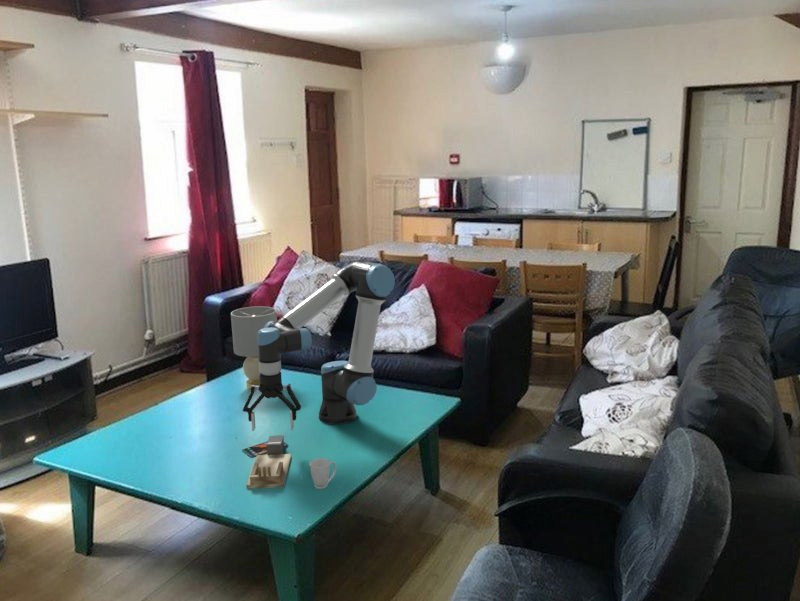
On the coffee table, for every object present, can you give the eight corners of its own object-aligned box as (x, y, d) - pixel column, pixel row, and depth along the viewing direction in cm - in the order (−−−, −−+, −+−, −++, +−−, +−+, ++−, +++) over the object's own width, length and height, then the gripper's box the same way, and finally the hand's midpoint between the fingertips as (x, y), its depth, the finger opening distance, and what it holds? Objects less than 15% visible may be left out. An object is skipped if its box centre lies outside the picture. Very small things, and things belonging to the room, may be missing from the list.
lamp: (229, 392, 311) (223, 316, 303) (246, 378, 330) (240, 305, 322) (272, 394, 308) (267, 317, 300) (286, 379, 327) (282, 306, 319)
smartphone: (241, 449, 252) (278, 437, 261) (241, 453, 252) (278, 440, 261) (250, 456, 246) (288, 443, 254) (251, 459, 246) (288, 447, 255)
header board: (291, 457, 246) (290, 438, 244) (283, 487, 224) (282, 467, 223) (257, 458, 245) (255, 439, 244) (246, 488, 224) (244, 468, 222)
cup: (305, 485, 225) (304, 462, 223) (329, 475, 232) (328, 452, 230) (319, 493, 220) (317, 469, 218) (343, 482, 227) (342, 459, 225)
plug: (284, 448, 254) (283, 434, 253) (281, 457, 246) (280, 443, 245) (270, 448, 254) (269, 435, 252) (267, 458, 246) (266, 444, 245)
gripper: (307, 368, 247) (309, 424, 251) (236, 369, 246) (239, 425, 250) (305, 374, 240) (307, 432, 244) (232, 376, 239) (235, 434, 243)
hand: (273, 429), depth 247 cm, fingers open, 13 cm apart
